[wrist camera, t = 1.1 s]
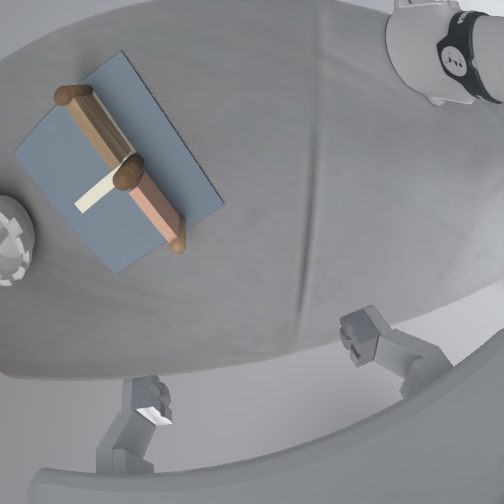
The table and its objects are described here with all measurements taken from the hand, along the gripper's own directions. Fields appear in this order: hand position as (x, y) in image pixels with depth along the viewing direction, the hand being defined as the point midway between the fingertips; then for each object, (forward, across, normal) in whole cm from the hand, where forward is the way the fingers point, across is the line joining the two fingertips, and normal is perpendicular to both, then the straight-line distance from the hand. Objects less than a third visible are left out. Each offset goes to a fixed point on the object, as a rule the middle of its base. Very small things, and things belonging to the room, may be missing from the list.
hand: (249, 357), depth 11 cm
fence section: (+26, +6, +2) cm, 26 cm away
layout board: (+27, +11, -4) cm, 29 cm away
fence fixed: (+26, +9, -9) cm, 29 cm away
